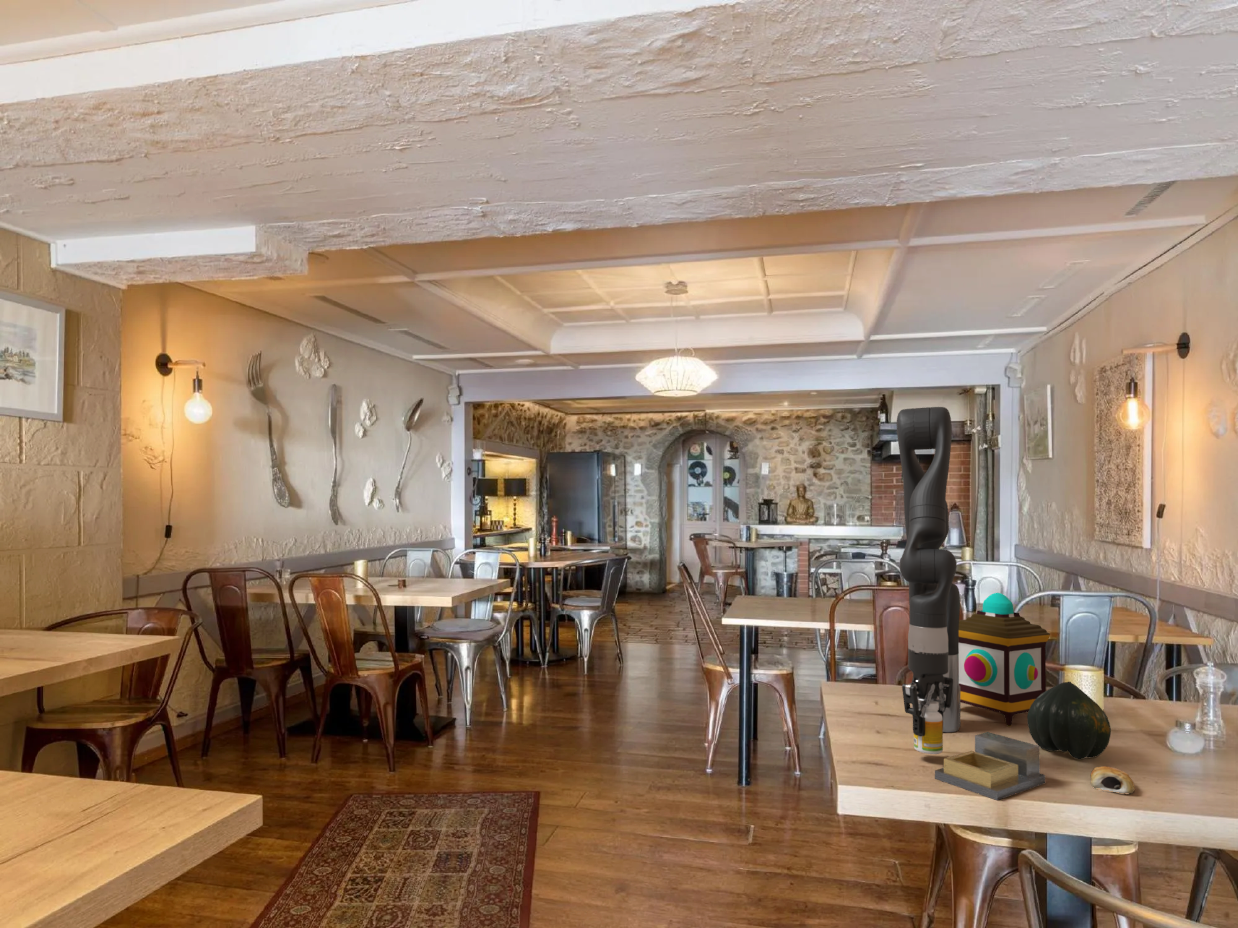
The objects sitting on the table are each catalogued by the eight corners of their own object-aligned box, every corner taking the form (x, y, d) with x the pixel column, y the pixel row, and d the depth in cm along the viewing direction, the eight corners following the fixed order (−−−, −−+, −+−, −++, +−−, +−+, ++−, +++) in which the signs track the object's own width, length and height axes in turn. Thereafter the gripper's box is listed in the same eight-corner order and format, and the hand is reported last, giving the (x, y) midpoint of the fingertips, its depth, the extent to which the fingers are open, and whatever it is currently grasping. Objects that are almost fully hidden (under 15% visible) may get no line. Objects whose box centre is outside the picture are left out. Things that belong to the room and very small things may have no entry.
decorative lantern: (1011, 730, 173) (1010, 598, 175) (937, 708, 190) (937, 589, 192) (1062, 719, 183) (1061, 595, 184) (987, 700, 200) (986, 587, 202)
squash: (1059, 739, 148) (1096, 679, 152) (1001, 721, 162) (1037, 666, 166) (1104, 785, 150) (1140, 724, 154) (1043, 763, 164) (1077, 708, 168)
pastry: (1090, 775, 145) (1090, 755, 145) (1132, 783, 141) (1132, 762, 141) (1090, 790, 137) (1090, 769, 137) (1135, 799, 133) (1135, 777, 133)
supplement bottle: (948, 751, 150) (948, 702, 150) (931, 756, 147) (931, 706, 148) (924, 744, 155) (924, 696, 155) (908, 748, 152) (908, 699, 152)
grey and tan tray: (983, 763, 149) (983, 730, 149) (1045, 783, 139) (1045, 747, 139) (934, 778, 140) (934, 742, 141) (997, 800, 130) (997, 761, 131)
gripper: (932, 641, 159) (932, 722, 158) (889, 648, 151) (889, 733, 150) (965, 647, 153) (966, 731, 152) (923, 654, 145) (923, 744, 144)
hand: (928, 732), depth 151 cm, fingers closed on supplement bottle, 5 cm apart
